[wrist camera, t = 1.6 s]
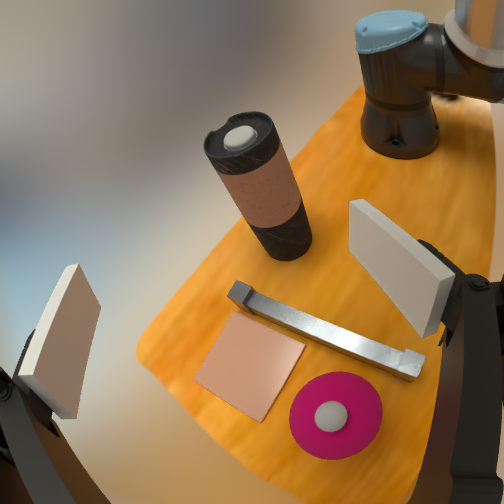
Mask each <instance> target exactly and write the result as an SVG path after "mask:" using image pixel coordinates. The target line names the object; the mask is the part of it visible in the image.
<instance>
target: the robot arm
mask: <svg viewBox="0 0 504 504" xmlns="http://www.w3.org/2000/svg"><path fill="white" fill-rule="evenodd" d="M354 32H355V38H356V50H357V52H358V54H359V59H360V64H361V70H362V75H363V80H364V87H365V93H366V100H365V105H364V110H363V115H362V118H361V123H360V124H361V132H362V137H363V139H364V141H365V142H366V144H367V145H368V146H369V147H371V148H372V149H373V150H375V151H377V152H378V153H381V154H383V155H386V156H389V157H393V158H400V159H412V158H418V157H422V156H425V155H427V154H429V153H430V152H432V151H433V150H434V149H435V148H436V146H437V144H438V141H439V125H438V122H437V118H436V115H435V112H434V109H433V106H432V103H431V92H439V93H447V94H453V95H460V96H465V97H470V98H475V99H480V100H484V101H488V102H490V103H502V104H504V0H455V9H452V10H451V11H450V12H448V13H447V15H446V16H445V20H444V25H441V24H433V23H428V20H427V19H426V17H425V16H424V15H422V14H421V13H418V12H415V11H407V10H392V11H384V12H378V13H374V14H371V15H368V16H366V17H364V18H362V19H360V20H359V21H358V22H357V24H356V25H355V29H354ZM349 251H350V252H351V254H352V255H353V256H354V257H355V258H356V259H357V260H358V261H359V263H360V264H361V265H362V266H363V267H364V268H365V270H366V271H367V272H368V273H369V274H370V275H371V277H372V278H373V279H374V280H375V281H376V282H377V284H378V285H379V286H380V287H381V288H382V290H383V291H384V292H385V293H386V294H387V296H388V297H389V298H390V299H391V300H392V302H393V303H394V304H395V305H396V307H397V308H398V309H399V310H400V312H401V313H402V314H403V315H404V317H405V318H406V319H407V320H408V322H409V323H410V324H411V325H412V327H413V328H414V329H415V331H416V332H417V333H418V334H419V336H420V337H421V338H425V337H427V336H429V335H431V334H433V333H435V332H437V329H438V327H439V324H440V321H442V322H443V323H444V325H445V326H446V327H445V330H444V332H443V335H442V337H441V340H440V342H439V345H438V346H441V344H442V342H443V348H442V359H441V369H440V377H439V385H438V392H437V398H436V404H435V410H434V415H433V420H432V425H431V430H430V435H429V439H428V443H427V447H426V451H425V455H424V459H423V463H422V466H421V470H420V473H419V476H418V480H417V483H416V486H415V489H414V492H413V494H412V496H411V498H410V500H409V501H408V503H407V504H501V500H502V495H503V487H504V485H503V481H502V479H501V478H499V477H498V476H497V473H496V468H497V461H498V454H499V445H500V435H501V421H502V401H503V406H504V274H503V277H502V280H501V282H493V283H490V282H489V281H488V280H487V279H486V278H484V277H483V276H481V275H478V274H467V275H466V274H465V273H464V272H462V271H461V270H460V269H459V268H458V267H457V266H456V265H455V264H453V263H452V262H451V261H450V260H449V259H448V258H446V257H444V255H443V254H442V253H441V252H438V250H437V249H436V248H435V247H433V246H432V245H431V244H429V243H427V242H425V241H423V240H420V239H419V240H415V239H414V238H413V237H412V236H411V235H409V234H408V233H407V232H406V231H404V230H403V229H402V228H401V227H399V226H398V225H397V224H396V223H394V222H393V221H392V220H390V219H389V218H388V217H387V216H385V215H384V214H383V213H381V212H380V211H379V210H377V209H376V208H375V207H373V206H372V205H371V204H369V203H368V202H367V201H365V200H364V199H359V200H353V201H349ZM100 310H101V306H100V304H99V302H98V300H97V299H96V297H95V295H94V293H93V291H92V289H91V287H90V285H89V283H88V281H87V279H86V277H85V275H84V273H83V271H82V269H81V267H80V265H79V263H78V264H74V265H70V266H67V267H66V268H65V270H64V272H63V274H62V276H61V278H60V279H59V281H58V283H57V285H56V287H55V290H54V291H53V293H52V295H51V297H50V300H49V302H48V304H47V306H46V308H45V310H44V312H43V314H42V316H41V319H40V321H39V323H38V325H37V328H36V329H34V330H33V332H32V333H31V334H30V336H29V337H28V339H27V341H26V344H25V346H24V349H23V351H22V354H21V356H20V359H19V361H18V364H17V366H16V369H15V372H14V375H13V378H12V379H11V378H10V377H9V376H8V374H7V373H6V372H5V371H4V370H3V369H2V368H1V367H0V504H111V503H110V502H109V500H108V499H107V498H106V497H105V495H104V494H103V493H102V492H101V490H100V489H99V488H98V486H97V485H96V484H95V483H94V481H93V480H92V478H91V477H90V476H89V474H88V473H87V471H86V470H85V469H84V467H83V466H82V464H81V463H80V461H79V460H78V458H77V457H76V455H75V454H74V452H73V451H72V449H71V447H70V446H69V444H68V442H67V441H66V439H65V437H64V436H63V434H62V433H61V431H60V429H59V427H58V425H57V424H56V422H55V421H54V420H53V419H52V418H51V417H52V412H54V413H56V415H58V416H59V417H60V418H61V419H77V413H78V407H79V401H80V395H81V389H82V384H83V379H84V374H85V370H86V365H87V361H88V356H89V352H90V348H91V344H92V340H93V336H94V332H95V327H96V324H97V321H98V317H99V313H100Z"/></svg>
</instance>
